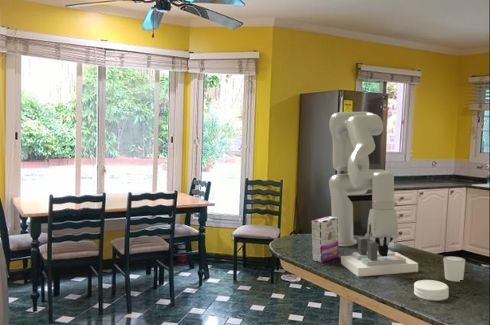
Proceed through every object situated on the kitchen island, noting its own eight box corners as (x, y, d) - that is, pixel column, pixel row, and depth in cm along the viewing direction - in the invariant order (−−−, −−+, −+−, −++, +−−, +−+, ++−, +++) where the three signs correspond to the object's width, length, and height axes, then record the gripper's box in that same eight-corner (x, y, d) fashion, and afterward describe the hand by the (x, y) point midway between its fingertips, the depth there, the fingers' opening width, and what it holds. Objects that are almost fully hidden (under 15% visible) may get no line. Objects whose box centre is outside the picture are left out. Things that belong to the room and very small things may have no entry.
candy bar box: (329, 255, 192) (328, 215, 191) (339, 257, 188) (338, 217, 187) (311, 260, 184) (310, 219, 183) (321, 263, 181) (320, 221, 180)
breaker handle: (367, 257, 169) (367, 241, 169) (373, 257, 170) (373, 241, 169) (371, 259, 166) (370, 243, 166) (377, 259, 167) (377, 243, 166)
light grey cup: (448, 274, 163) (448, 254, 163) (468, 278, 158) (468, 258, 158) (439, 279, 159) (439, 259, 158) (460, 283, 154) (460, 262, 153)
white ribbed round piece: (438, 289, 149) (438, 278, 149) (455, 300, 140) (455, 289, 139) (408, 290, 148) (408, 280, 148) (423, 302, 139) (423, 290, 138)
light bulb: (380, 257, 186) (380, 233, 185) (364, 257, 187) (364, 232, 187) (379, 253, 192) (378, 229, 191) (364, 253, 193) (363, 229, 192)
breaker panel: (341, 263, 179) (340, 237, 178) (396, 259, 183) (396, 233, 182) (358, 276, 163) (357, 247, 162) (418, 271, 167) (418, 243, 166)
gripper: (397, 203, 172) (397, 251, 174) (359, 205, 170) (359, 254, 171) (407, 206, 165) (407, 256, 166) (368, 208, 162) (368, 259, 164)
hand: (383, 255), depth 169 cm, fingers closed
